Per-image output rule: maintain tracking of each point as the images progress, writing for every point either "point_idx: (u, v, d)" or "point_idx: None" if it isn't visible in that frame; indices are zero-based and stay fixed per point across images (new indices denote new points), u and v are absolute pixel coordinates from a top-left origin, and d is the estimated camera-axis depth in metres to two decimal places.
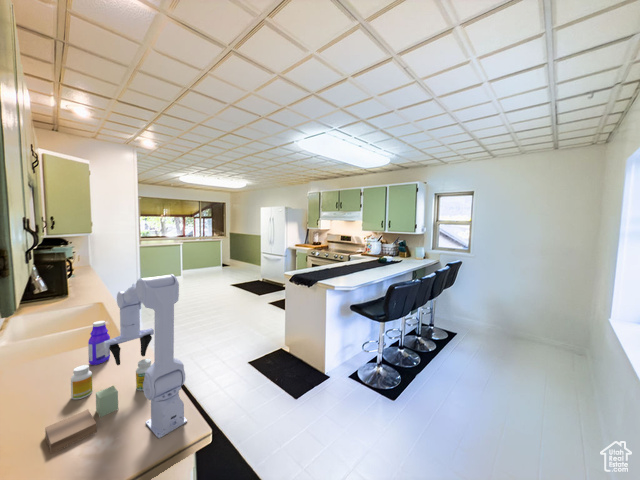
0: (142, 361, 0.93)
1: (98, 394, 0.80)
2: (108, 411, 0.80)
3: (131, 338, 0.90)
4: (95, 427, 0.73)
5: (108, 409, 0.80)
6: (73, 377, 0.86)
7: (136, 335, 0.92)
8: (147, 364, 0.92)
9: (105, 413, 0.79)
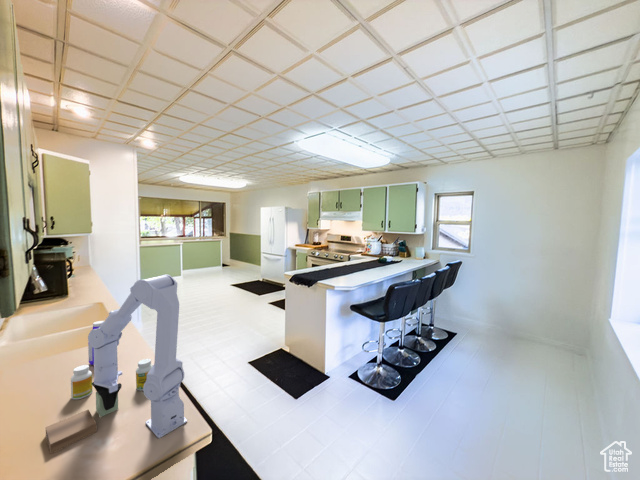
0: (142, 361, 0.93)
1: (98, 394, 0.80)
2: (108, 411, 0.80)
3: None
4: (95, 427, 0.73)
5: None
6: (73, 377, 0.86)
7: (96, 381, 0.78)
8: (147, 364, 0.92)
9: (105, 413, 0.79)
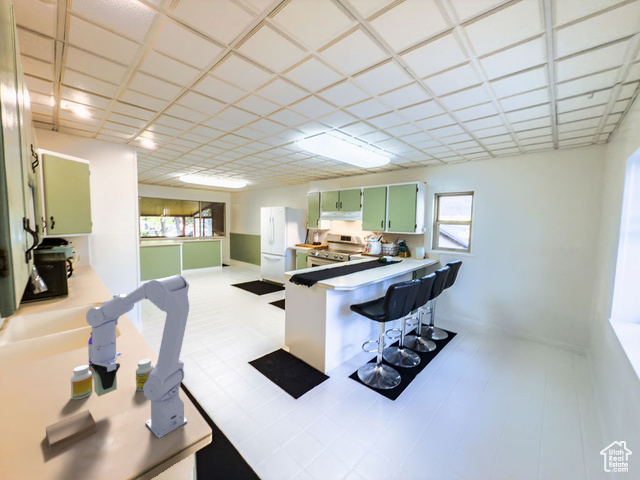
0: (142, 361, 0.93)
1: (96, 373, 0.79)
2: (106, 391, 0.79)
3: (92, 360, 0.78)
4: (95, 427, 0.72)
5: (106, 389, 0.79)
6: (73, 377, 0.86)
7: (94, 360, 0.78)
8: (147, 364, 0.92)
9: (103, 392, 0.79)
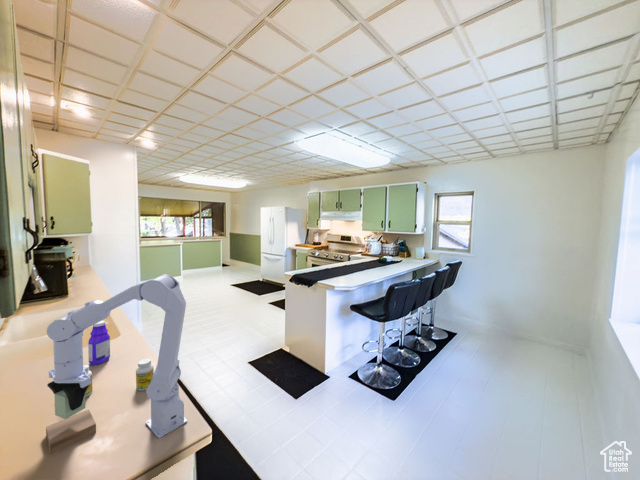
0: (142, 361, 0.93)
1: (59, 394, 0.70)
2: (74, 411, 0.71)
3: (54, 380, 0.68)
4: (94, 428, 0.72)
5: None
6: None
7: (59, 379, 0.68)
8: (147, 364, 0.92)
9: (71, 414, 0.70)
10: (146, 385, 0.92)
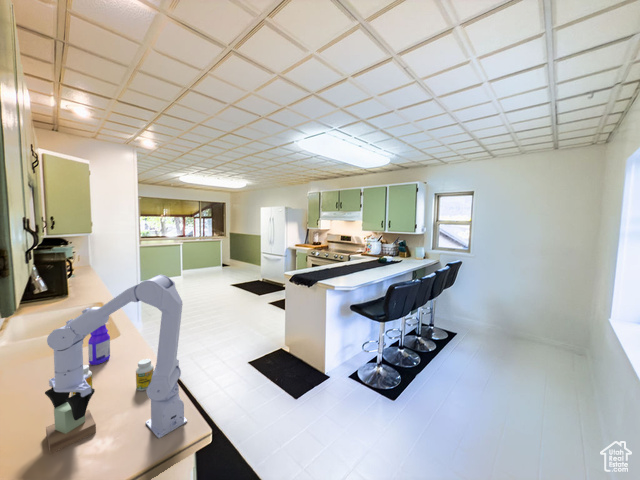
0: (142, 361, 0.93)
1: (59, 409, 0.70)
2: (74, 425, 0.71)
3: (54, 389, 0.69)
4: (94, 428, 0.72)
5: (74, 423, 0.71)
6: None
7: (59, 388, 0.68)
8: (147, 364, 0.92)
9: (71, 428, 0.70)
10: (146, 385, 0.92)
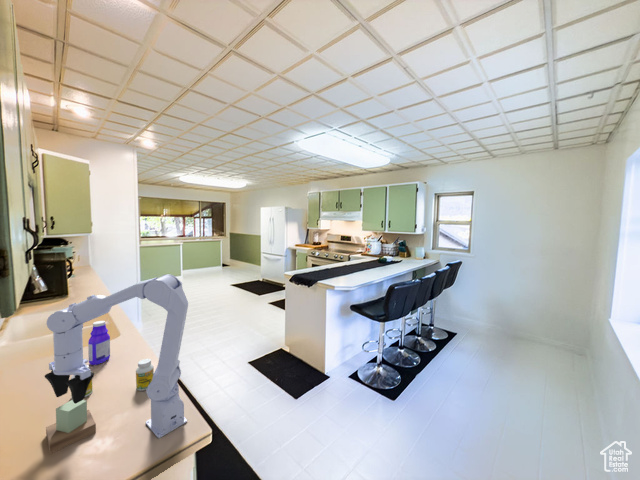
0: (142, 361, 0.93)
1: (61, 409, 0.70)
2: (77, 425, 0.71)
3: (54, 372, 0.69)
4: (94, 428, 0.72)
5: (77, 422, 0.71)
6: (73, 377, 0.86)
7: (59, 371, 0.68)
8: (147, 364, 0.92)
9: (74, 427, 0.70)
10: (146, 385, 0.92)
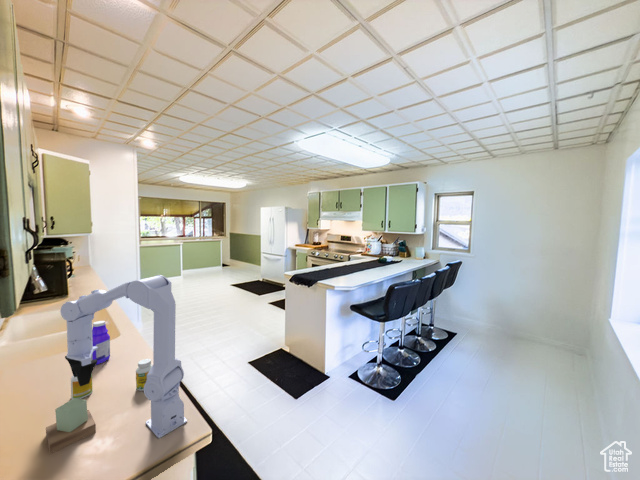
0: (142, 361, 0.93)
1: (61, 409, 0.70)
2: (78, 424, 0.71)
3: (67, 355, 0.78)
4: (94, 428, 0.72)
5: (78, 421, 0.71)
6: (73, 377, 0.86)
7: (69, 355, 0.77)
8: (147, 364, 0.92)
9: (75, 426, 0.70)
10: None
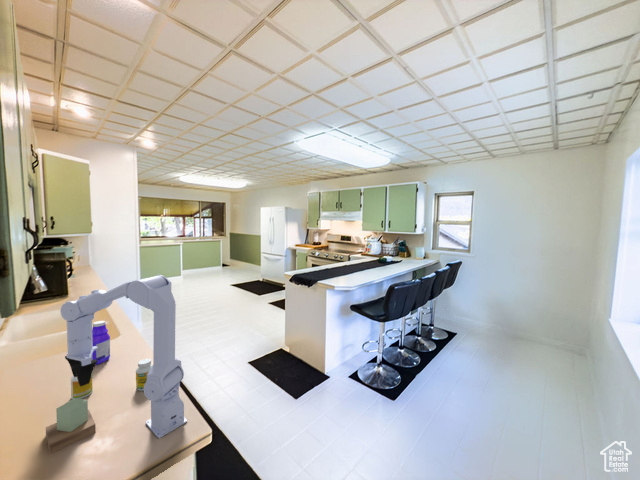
0: (142, 361, 0.93)
1: (62, 408, 0.70)
2: (78, 424, 0.71)
3: (67, 355, 0.78)
4: (94, 428, 0.72)
5: (78, 421, 0.71)
6: (73, 377, 0.86)
7: (69, 355, 0.77)
8: (147, 364, 0.92)
9: (75, 426, 0.71)
10: None
